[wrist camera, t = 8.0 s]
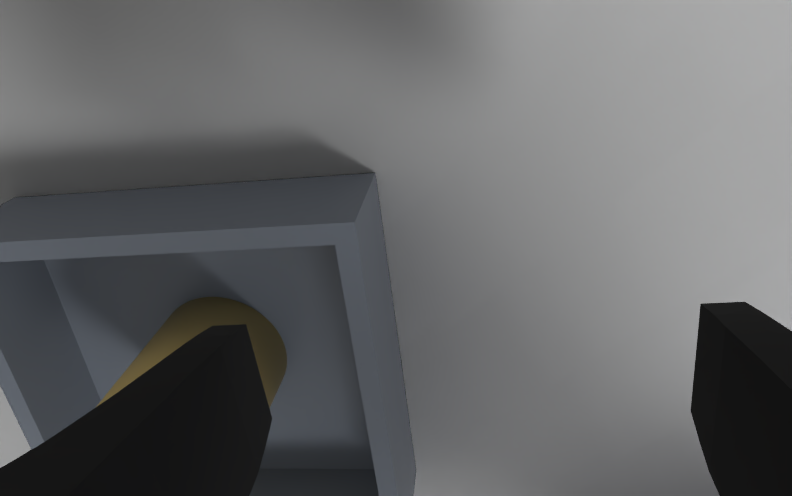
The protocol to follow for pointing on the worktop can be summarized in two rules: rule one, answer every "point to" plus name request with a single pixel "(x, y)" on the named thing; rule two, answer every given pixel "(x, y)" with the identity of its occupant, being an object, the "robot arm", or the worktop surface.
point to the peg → (201, 317)
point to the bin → (228, 278)
